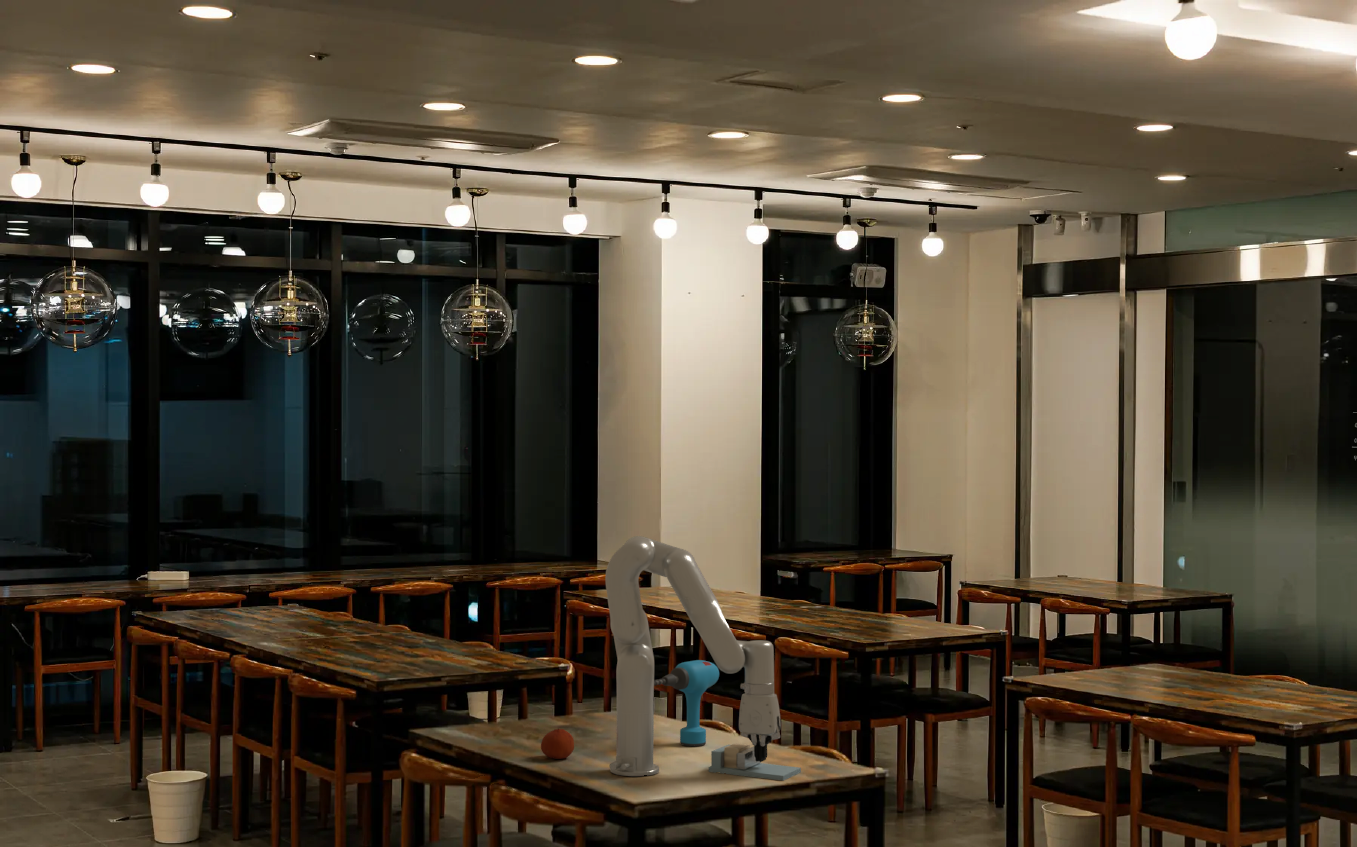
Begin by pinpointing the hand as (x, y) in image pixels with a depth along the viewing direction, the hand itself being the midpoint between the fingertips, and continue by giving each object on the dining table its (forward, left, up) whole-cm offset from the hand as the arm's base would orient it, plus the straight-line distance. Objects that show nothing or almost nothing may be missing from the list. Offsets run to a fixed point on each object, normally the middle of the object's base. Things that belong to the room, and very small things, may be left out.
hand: (760, 760), depth 408 cm
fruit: (-11, +55, -3) cm, 56 cm away
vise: (0, +2, -3) cm, 4 cm away
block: (0, +7, -2) cm, 7 cm away
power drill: (+19, +33, -3) cm, 38 cm away
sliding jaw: (0, +3, -2) cm, 4 cm away
